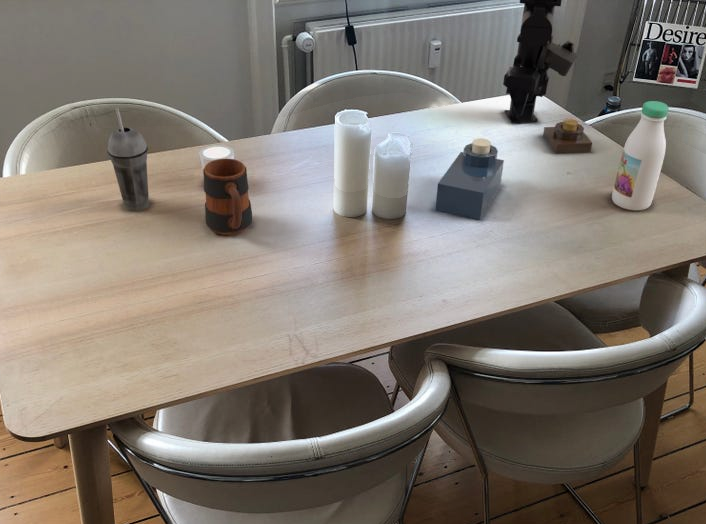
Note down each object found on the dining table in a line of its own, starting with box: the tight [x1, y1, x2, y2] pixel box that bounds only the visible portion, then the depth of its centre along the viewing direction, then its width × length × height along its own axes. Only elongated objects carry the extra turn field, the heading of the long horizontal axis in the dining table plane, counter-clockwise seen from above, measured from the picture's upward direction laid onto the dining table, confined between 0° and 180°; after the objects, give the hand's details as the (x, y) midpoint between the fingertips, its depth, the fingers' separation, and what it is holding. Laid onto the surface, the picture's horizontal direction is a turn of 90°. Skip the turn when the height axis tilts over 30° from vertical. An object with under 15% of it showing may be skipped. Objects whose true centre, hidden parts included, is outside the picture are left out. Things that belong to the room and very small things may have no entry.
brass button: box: [562, 118, 579, 131], centre depth 183 cm, size 3×3×2 cm
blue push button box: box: [434, 142, 505, 221], centre depth 163 cm, size 16×9×8 cm, turn 157°
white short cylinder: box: [471, 137, 492, 155], centre depth 164 cm, size 4×4×2 cm
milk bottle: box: [611, 100, 670, 211], centre depth 159 cm, size 8×8×20 cm
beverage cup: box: [107, 107, 150, 212], centre depth 154 cm, size 7×7×20 cm
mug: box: [202, 158, 253, 236], centre depth 151 cm, size 9×12×12 cm
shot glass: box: [198, 144, 235, 170], centre depth 166 cm, size 7×7×7 cm
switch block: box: [542, 121, 593, 155], centre depth 184 cm, size 9×8×4 cm
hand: (523, 107), depth 171 cm, fingers open, 8 cm apart
